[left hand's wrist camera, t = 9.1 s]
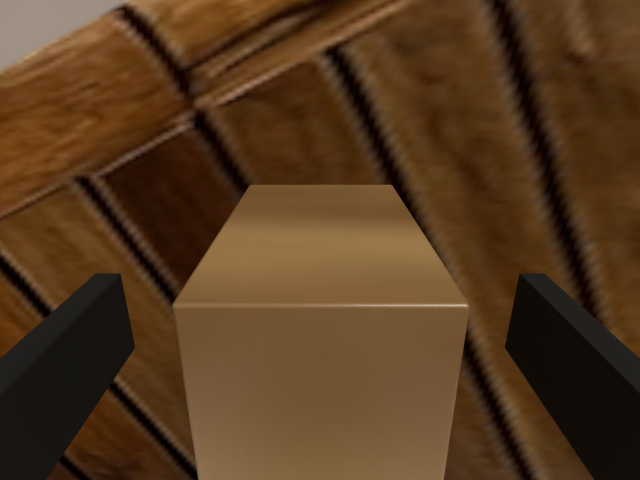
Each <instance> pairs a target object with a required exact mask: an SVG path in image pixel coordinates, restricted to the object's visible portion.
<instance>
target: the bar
mask: <svg viewBox="0 0 640 480" xmlns="http://www.w3.org/2000/svg"><path fill="white" fill-rule="evenodd" d="M469 307H470V306H469V303H468V302H467V300H466V298H465V297H464V295H463V294H462V292H461V291H460V289H459V288H458V286H457V285H456V283H455V282H454V280H453V278H452V277H451V275H450V274H449V272H448V271H447V269H446V268H445V266H444V265H443V263H442V262H441V260H440V258H439V257H438V255H437V254H436V252H435V251H434V249H433V248H432V246H431V245H430V243H429V242H428V240H427V239H426V237H425V235H424V234H423V232H422V231H421V229H420V228H419V226H418V225H417V223H416V222H415V220H414V219H413V217H412V215H411V214H410V212H409V211H408V209H407V208H406V206H405V205H404V203H403V202H402V200H401V199H400V197H399V195H398V194H397V192H396V191H395V189H394V188H393V186H392V185H250V186H249V187H248V189H247V190H246V192H245V193H244V195H243V196H242V198H241V199H240V201H239V203H238V204H237V206H236V207H235V209H234V210H233V212H232V213H231V215H230V216H229V218H228V220H227V221H226V223H225V224H224V226H223V227H222V229H221V230H220V232H219V233H218V235H217V236H216V238H215V240H214V241H213V243H212V244H211V246H210V247H209V249H208V250H207V252H206V253H205V255H204V257H203V258H202V260H201V261H200V263H199V264H198V266H197V267H196V269H195V270H194V272H193V273H192V275H191V277H190V278H189V280H188V281H187V283H186V284H185V286H184V287H183V289H182V290H181V292H180V294H179V295H178V297H177V298H176V300H175V301H174V303H173V306H172V308H173V315H174V322H175V328H176V335H177V341H178V348H179V355H180V361H181V368H182V375H183V381H184V388H185V394H186V401H187V408H188V414H189V421H190V428H191V434H192V441H193V447H194V454H195V461H196V467H197V474H198V480H443V479H444V473H445V466H446V459H447V453H448V446H449V440H450V433H451V426H452V420H453V413H454V407H455V400H456V393H457V387H458V380H459V374H460V367H461V360H462V354H463V347H464V340H465V334H466V327H467V321H468V314H469Z"/></svg>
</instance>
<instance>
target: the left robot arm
mask: <svg viewBox="0 0 640 480" xmlns="http://www.w3.org/2000/svg"><path fill="white" fill-rule="evenodd" d="M134 348H135V345H134V340H133V335H132V330H131V324H130V319H129V314H128V309H127V304H126V299H125V294H124V289H123V284H122V279H121V274H95V275H94V276H92V277H91V278H90V279H89V280H88V281H87V282H86V283H85V284H83V285H82V286H81V287H80V288H79V289H78V290H77V291H76V292H74V293H73V294H72V295H71V296H70V297H69V298H68V299H67V300H65V301H64V302H63V303H62V304H61V305H60V306H59V307H58V308H56V309H55V310H54V311H53V312H52V313H51V314H50V315H49V316H48V317H46V318H45V319H44V320H43V321H42V322H41V323H40V324H39V325H37V326H36V327H35V328H34V329H33V330H32V331H31V332H30V333H28V334H27V335H26V336H25V337H24V338H23V339H22V340H21V341H19V342H18V343H17V344H16V345H15V346H14V347H13V348H12V349H10V350H9V351H8V352H7V353H6V354H5V355H4V356H3V357H1V358H0V480H46V479H47V477H48V476H49V474H50V473H51V471H52V470H53V468H54V467H55V465H56V464H57V462H58V461H59V459H60V458H61V456H62V455H63V453H64V452H65V451H66V449H67V448H68V446H69V445H70V443H71V442H72V440H73V439H74V437H75V436H76V434H77V433H78V431H79V430H80V428H81V427H82V425H83V424H84V422H85V421H86V419H87V418H88V416H89V415H90V414H91V412H92V411H93V409H94V408H95V406H96V405H97V403H98V402H99V400H100V399H101V397H102V396H103V394H104V393H105V391H106V390H107V388H108V387H109V385H110V384H111V382H112V381H113V380H114V378H115V377H116V375H117V374H118V372H119V371H120V369H121V368H122V366H123V365H124V363H125V362H126V360H127V359H128V357H129V356H130V354H131V353H132V351H133V350H134ZM505 348H506V350H507V351H508V353H509V354H510V356H511V357H512V359H513V360H514V362H515V363H516V365H517V366H518V368H519V369H520V371H521V372H522V374H523V375H524V377H525V378H526V380H527V381H528V382H529V384H530V385H531V387H532V388H533V390H534V391H535V393H536V394H537V396H538V397H539V399H540V400H541V402H542V403H543V405H544V406H545V408H546V409H547V411H548V412H549V414H550V415H551V417H552V418H553V419H554V421H555V422H556V424H557V425H558V427H559V428H560V430H561V431H562V433H563V434H564V436H565V437H566V439H567V440H568V442H569V443H570V445H571V446H572V448H573V449H574V451H575V452H576V453H577V455H578V456H579V458H580V459H581V461H582V462H583V464H584V465H585V467H586V468H587V470H588V471H589V473H590V474H591V476H592V477H593V479H594V480H640V358H639V357H637V356H636V355H635V354H634V353H633V352H632V351H631V350H630V349H628V348H627V347H626V346H625V345H624V344H623V343H622V342H621V341H619V340H618V339H617V338H616V337H615V336H614V335H613V334H612V333H610V332H609V331H608V330H607V329H606V328H605V327H604V326H603V325H601V324H600V323H599V322H598V321H597V320H596V319H595V318H594V317H592V316H591V315H590V314H589V313H588V312H587V311H586V310H585V309H583V308H582V307H581V306H580V305H579V304H578V303H577V302H576V301H575V300H573V299H572V298H571V297H570V296H569V295H568V294H567V293H566V292H564V291H563V290H562V289H561V288H560V287H559V286H558V285H557V284H555V283H554V282H553V281H552V280H551V279H550V278H549V277H548V276H546V275H545V274H519V279H518V284H517V289H516V294H515V299H514V304H513V309H512V314H511V319H510V324H509V329H508V335H507V340H506V345H505Z"/></svg>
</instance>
